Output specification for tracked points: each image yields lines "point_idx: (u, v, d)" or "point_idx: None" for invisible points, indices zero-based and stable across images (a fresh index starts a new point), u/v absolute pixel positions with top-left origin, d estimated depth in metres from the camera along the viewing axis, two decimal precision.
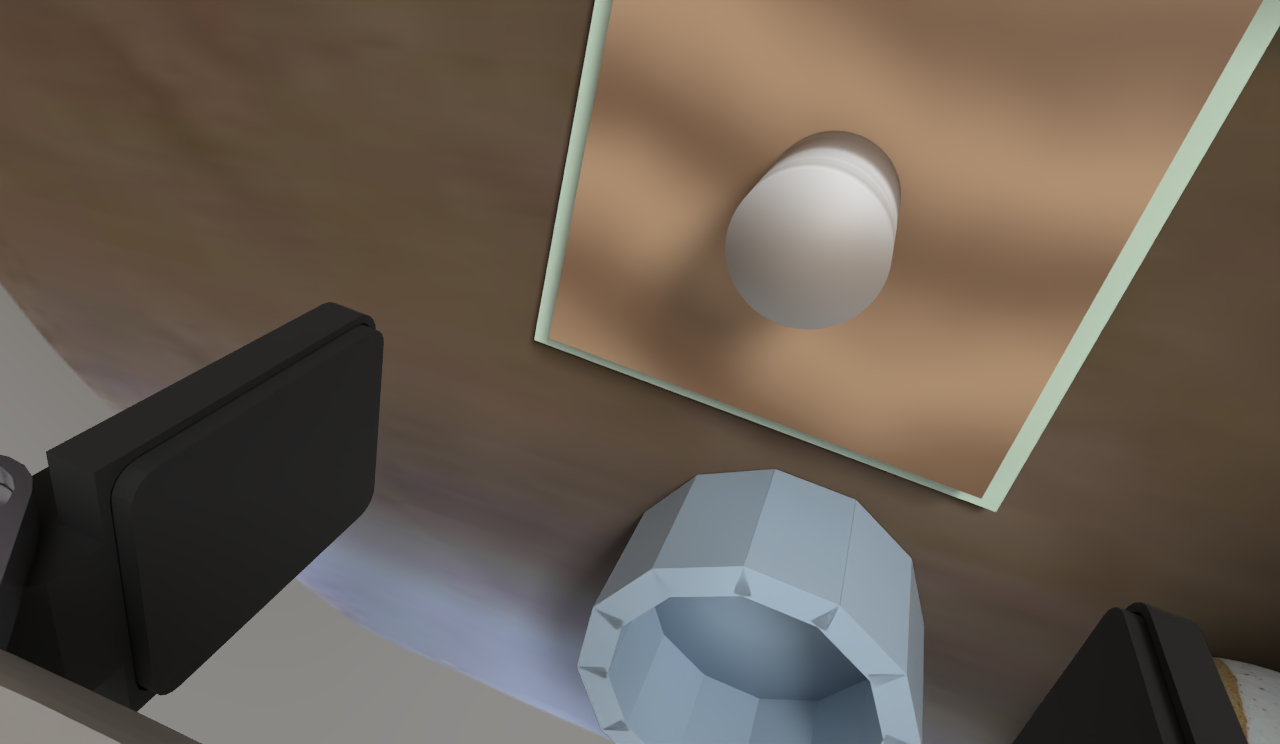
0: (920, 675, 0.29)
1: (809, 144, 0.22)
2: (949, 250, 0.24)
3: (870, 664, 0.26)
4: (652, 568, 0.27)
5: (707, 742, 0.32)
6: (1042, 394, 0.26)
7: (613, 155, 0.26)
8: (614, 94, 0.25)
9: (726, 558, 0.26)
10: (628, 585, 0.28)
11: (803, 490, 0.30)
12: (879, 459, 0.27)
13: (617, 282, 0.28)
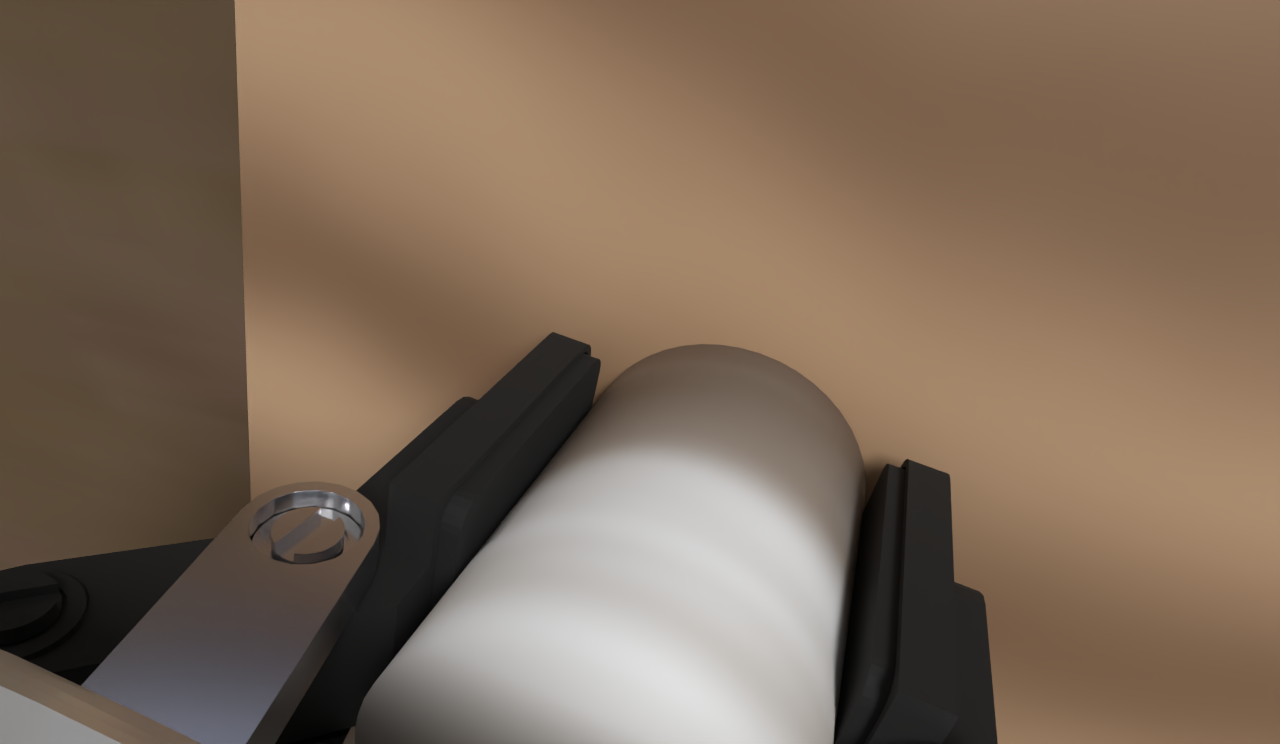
0: None
1: (635, 415, 0.09)
2: None
3: None
4: None
5: None
6: None
7: (297, 357, 0.13)
8: (276, 245, 0.12)
9: None
10: None
11: None
12: None
13: None
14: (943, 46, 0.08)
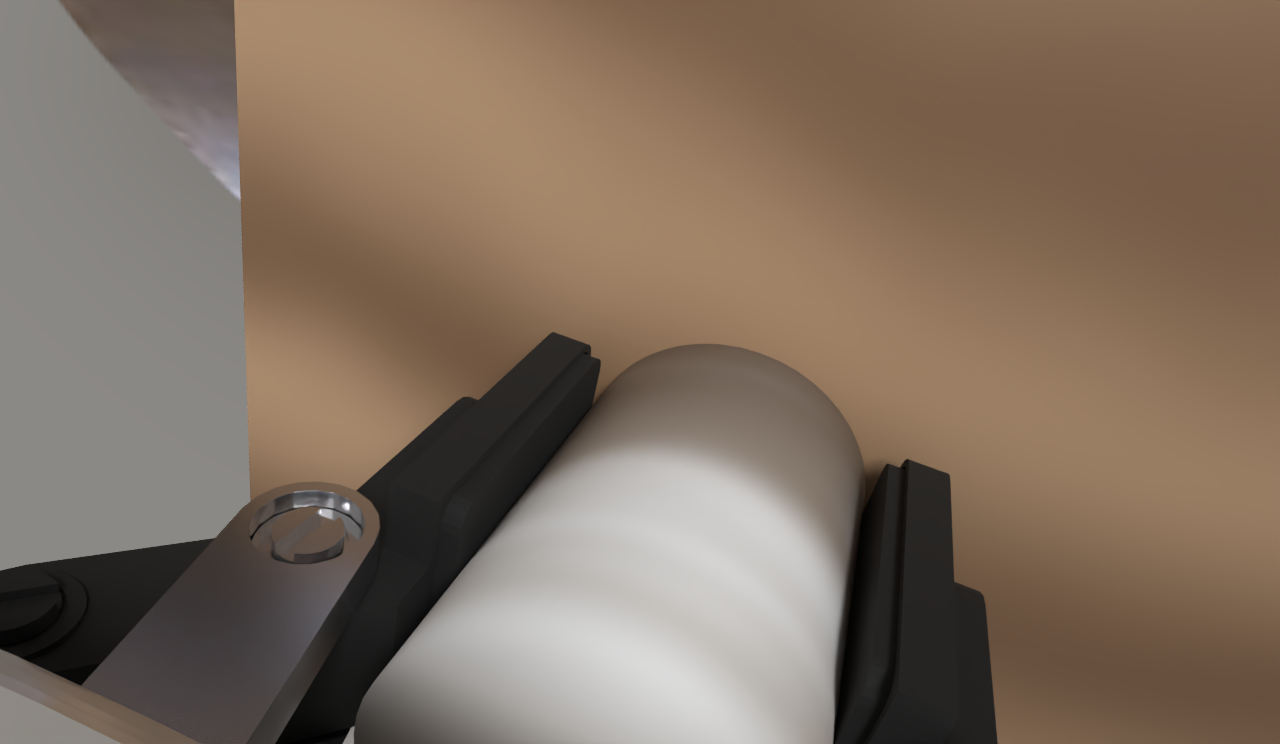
0: None
1: (634, 414, 0.09)
2: None
3: None
4: None
5: None
6: None
7: (297, 357, 0.13)
8: (276, 245, 0.12)
9: None
10: None
11: None
12: None
13: None
14: (943, 45, 0.08)
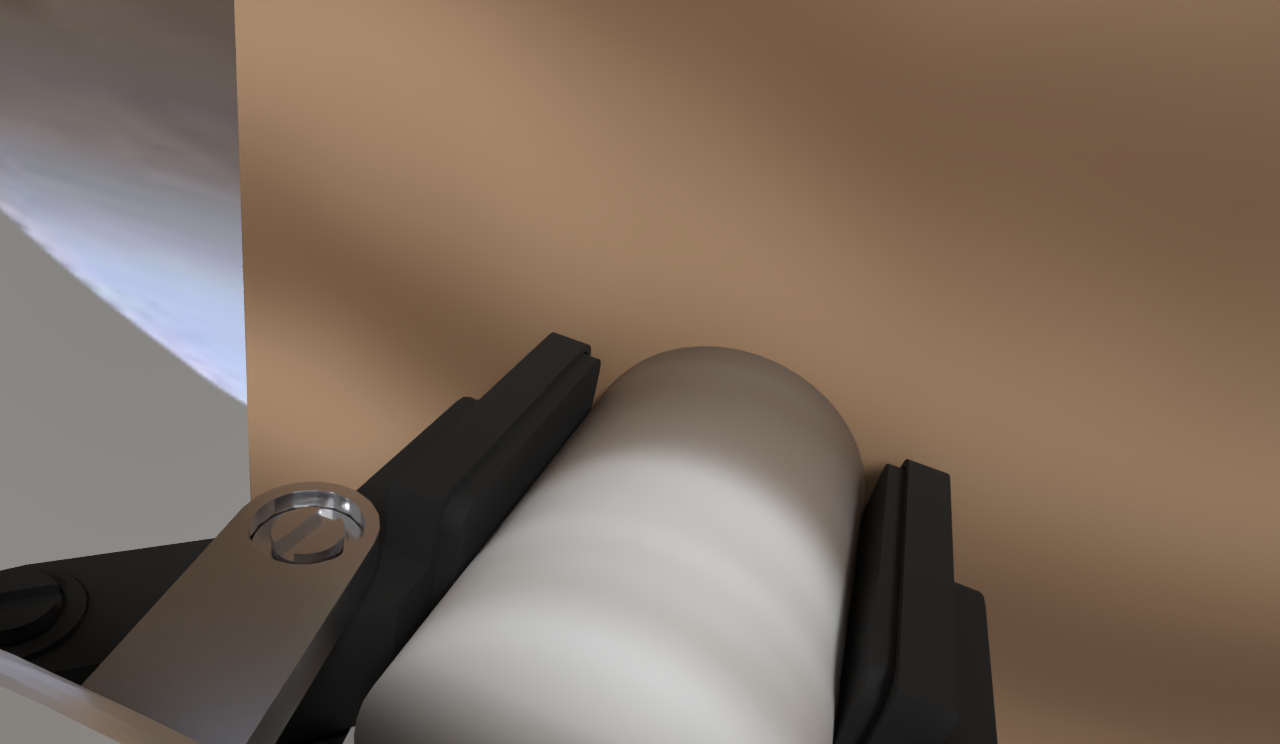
0: None
1: (634, 417, 0.09)
2: None
3: None
4: None
5: None
6: None
7: (297, 359, 0.13)
8: (276, 247, 0.12)
9: None
10: None
11: None
12: None
13: None
14: (942, 49, 0.08)
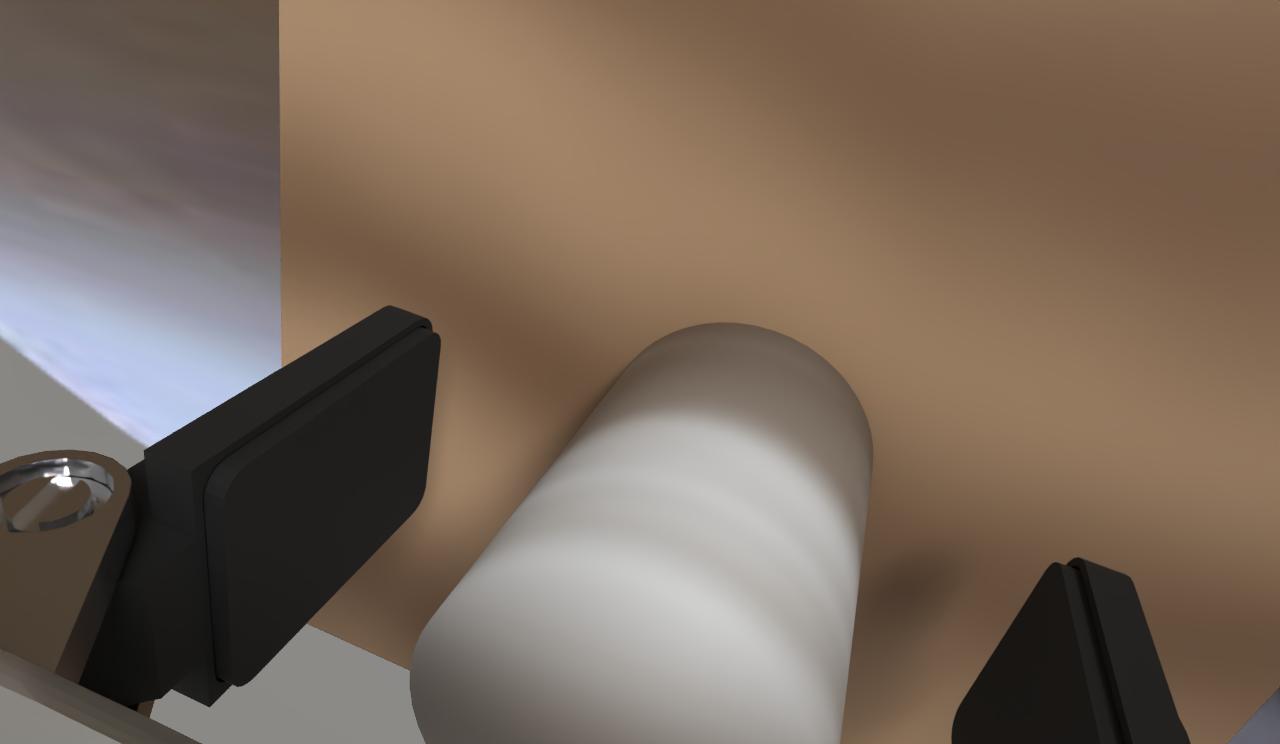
0: None
1: (659, 385, 0.10)
2: (974, 560, 0.12)
3: None
4: None
5: None
6: None
7: None
8: (313, 231, 0.13)
9: None
10: None
11: None
12: None
13: None
14: (947, 40, 0.09)
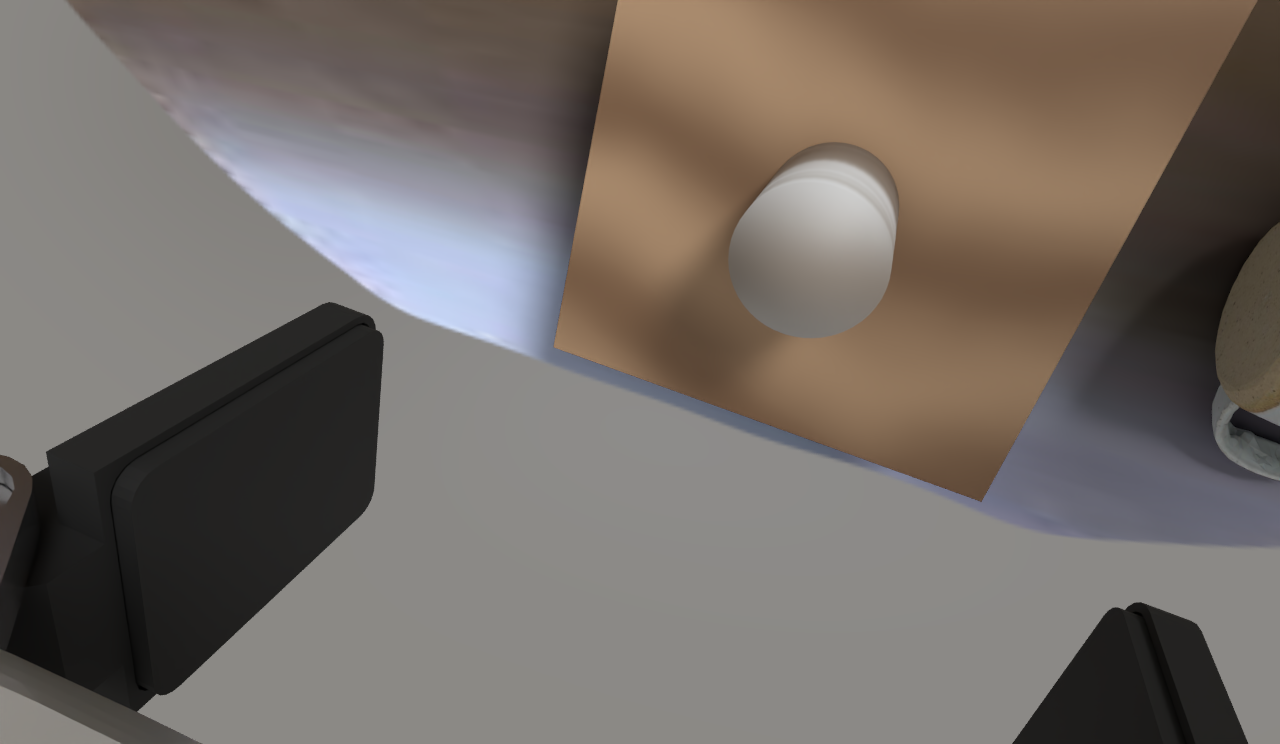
0: None
1: (809, 156, 0.22)
2: (947, 258, 0.24)
3: None
4: None
5: None
6: None
7: (616, 167, 0.26)
8: (616, 108, 0.25)
9: None
10: None
11: None
12: (881, 463, 0.28)
13: (620, 291, 0.28)
14: (932, 7, 0.22)
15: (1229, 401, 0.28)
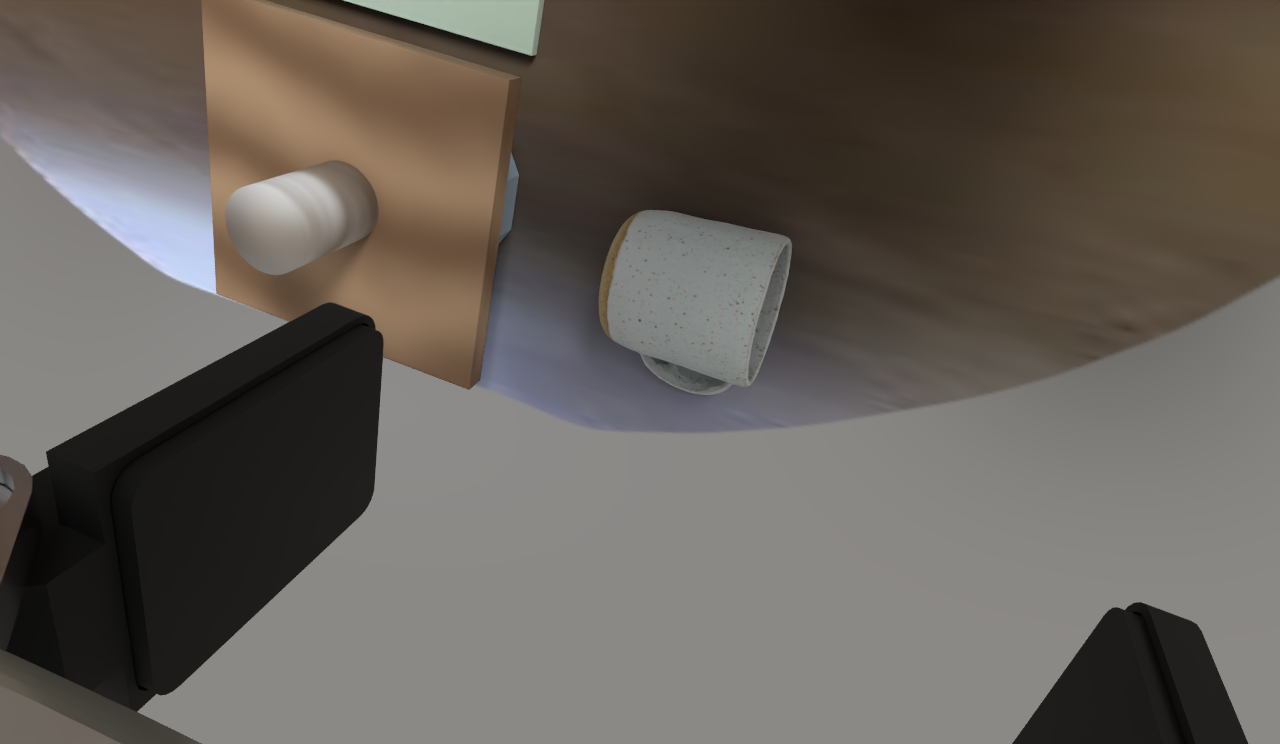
0: None
1: (299, 169, 0.37)
2: (409, 231, 0.39)
3: None
4: None
5: None
6: None
7: (226, 175, 0.41)
8: (218, 138, 0.41)
9: None
10: None
11: None
12: (411, 366, 0.43)
13: None
14: (362, 82, 0.37)
15: None
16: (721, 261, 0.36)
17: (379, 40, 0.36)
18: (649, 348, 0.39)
